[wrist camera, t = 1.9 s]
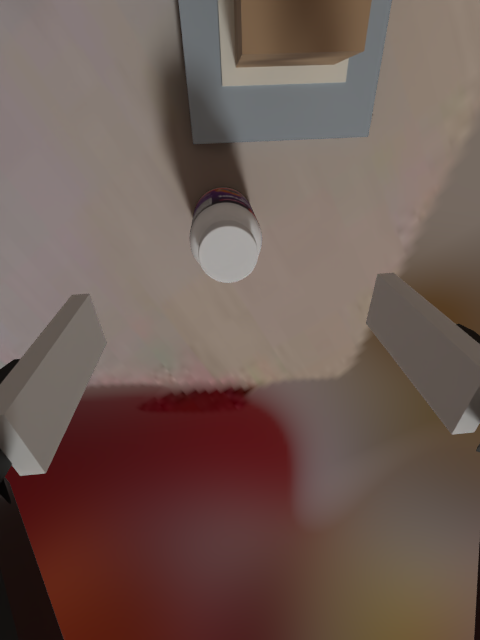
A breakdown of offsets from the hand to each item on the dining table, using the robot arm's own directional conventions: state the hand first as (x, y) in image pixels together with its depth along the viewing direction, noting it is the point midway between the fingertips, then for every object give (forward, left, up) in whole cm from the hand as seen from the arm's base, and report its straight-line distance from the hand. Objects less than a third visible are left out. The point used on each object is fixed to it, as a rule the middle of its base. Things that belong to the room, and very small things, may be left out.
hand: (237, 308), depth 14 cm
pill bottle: (0, 0, -17) cm, 17 cm away
